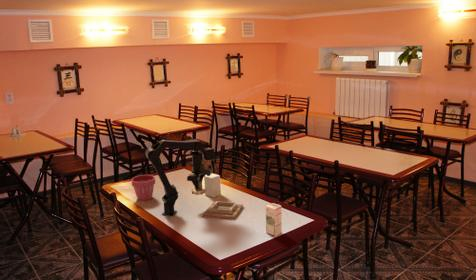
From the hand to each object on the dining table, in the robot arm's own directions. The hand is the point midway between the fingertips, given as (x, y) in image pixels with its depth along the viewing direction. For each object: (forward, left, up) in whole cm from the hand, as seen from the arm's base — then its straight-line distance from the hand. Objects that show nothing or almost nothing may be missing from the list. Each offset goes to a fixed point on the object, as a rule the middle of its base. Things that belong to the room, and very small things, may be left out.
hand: (198, 188), depth 244 cm
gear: (0, 0, -2) cm, 2 cm away
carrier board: (-2, -15, -12) cm, 19 cm away
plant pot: (+9, +40, -12) cm, 43 cm away
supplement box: (+23, 0, -12) cm, 26 cm away
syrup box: (-23, -48, -12) cm, 55 cm away
